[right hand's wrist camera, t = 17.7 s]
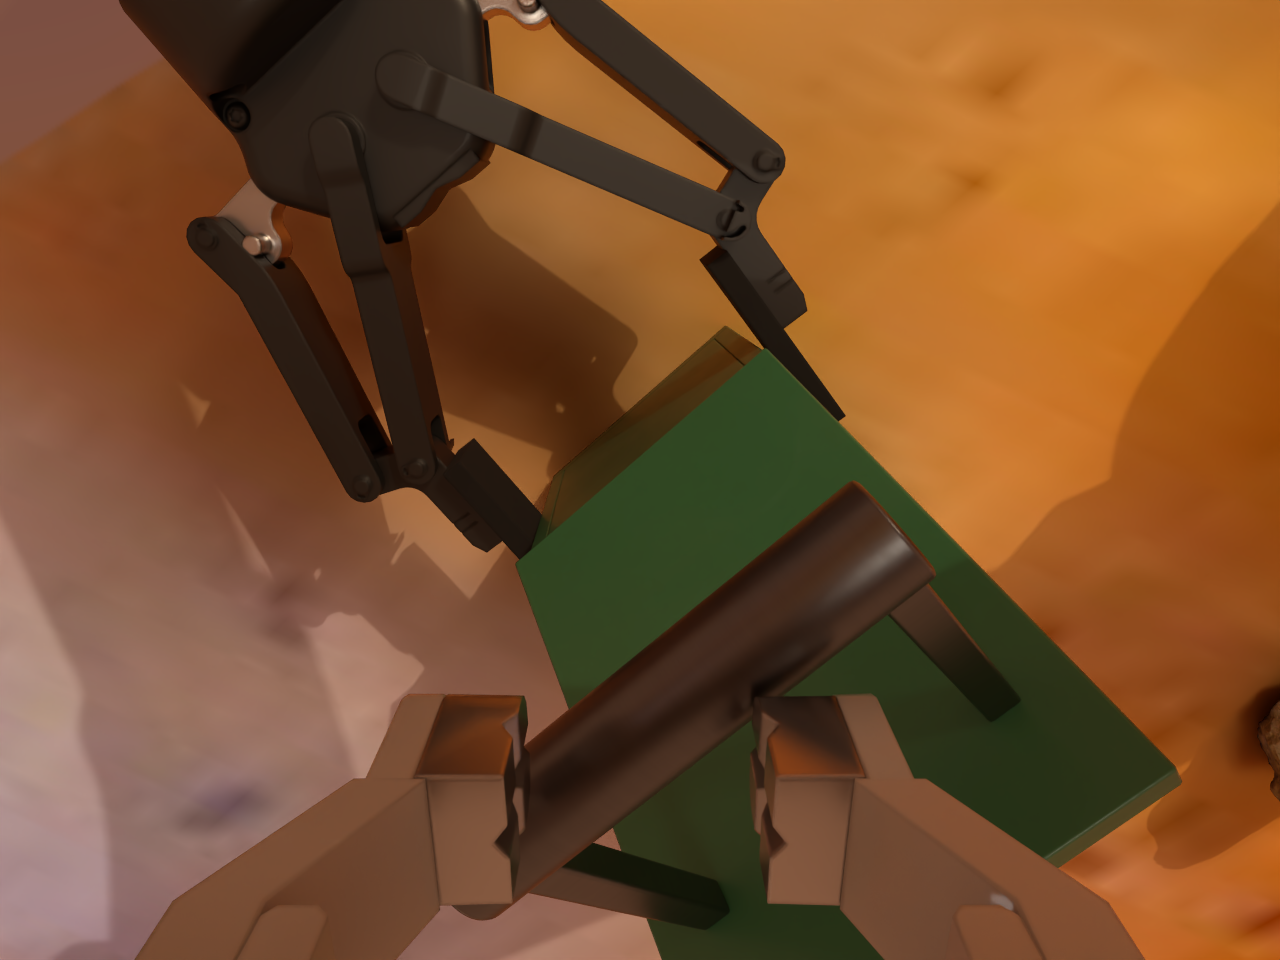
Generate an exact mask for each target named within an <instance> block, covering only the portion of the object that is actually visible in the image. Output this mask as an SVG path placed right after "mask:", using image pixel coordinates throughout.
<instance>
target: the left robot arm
mask: <svg viewBox="0 0 1280 960" xmlns="http://www.w3.org/2000/svg"><path fill="white" fill-rule="evenodd" d="M119 2H120V4H121V6H122V8H123V10H124V12H125V13H126V14H127V15H128V16H129V17H130V18H131V20H132V21H133V22H134V23H135V24H136V25H137V26H138V28H139V29H140V30H141V31H142V32H143V33H144V35H145V36H146V37H147V38H148V39H149V40H150V41H151V43H152V44H153V45H154V46H155V47H156V48H157V49H158V51H159V52H160V53H161V54H162V55H163V56H164V57H165V59H166V60H167V61H168V62H169V63H170V64H171V66H172V67H173V68H174V69H175V70H176V71H177V72H178V74H179V75H180V76H181V77H182V78H183V79H184V80H185V82H186V83H187V84H188V85H189V86H190V87H191V88H192V90H193V91H194V92H195V93H196V94H197V95H198V96H199V98H200V99H201V100H202V101H203V102H204V103H205V105H206V106H207V107H208V108H209V109H210V110H211V111H212V112H213V114H214V115H215V116H216V117H217V118H218V119H219V120H220V121H221V122H222V123H223V124H224V125H225V126H226V127H227V128H228V130H229V131H230V132H231V133H232V135H233V136H234V137H235V139H236V141H237V142H238V144H239V146H240V148H241V151H242V153H243V156H244V159H245V162H246V166H247V169H248V173H249V175H250V177H251V178H250V179H249V181H248V182H247V183H246V184H245V185H244V186H243V187H242V188H241V189H240V190H239V191H238V192H237V194H236V195H235V196H234V197H233V198H232V199H231V200H230V201H229V202H228V203H227V204H226V205H225V207H224V208H223V209H222V210H221V211H220V212H219V213H218V214H217V215H216V216H213V217H201V218H196V219H195V220H193V221H192V222H191V223H190V225H189V226H188V228H187V236H186V237H187V240H188V244H189V246H190V247H191V248H192V250H193V251H194V252H195V253H196V254H197V255H198V256H199V257H200V258H201V259H202V260H203V261H204V262H205V263H206V264H207V265H208V266H209V267H210V268H211V269H212V270H213V271H214V272H215V273H216V274H217V275H218V276H219V277H220V278H222V279H223V280H224V281H225V282H226V283H227V284H228V285H229V286H230V287H231V288H232V289H233V290H234V291H235V292H236V293H237V294H238V295H239V297H240V299H241V301H242V302H243V304H244V306H245V308H246V310H247V311H248V313H249V315H250V317H251V319H252V321H253V322H254V324H255V326H256V328H257V330H258V332H259V333H260V335H261V337H262V339H263V341H264V343H265V344H266V346H267V348H268V350H269V352H270V353H271V355H272V357H273V359H274V361H275V363H276V364H277V366H278V368H279V370H280V372H281V374H282V375H283V377H284V379H285V381H286V383H287V384H288V386H289V388H290V390H291V392H292V394H293V395H294V397H295V399H296V401H297V403H298V405H299V406H300V408H301V410H302V412H303V414H304V415H305V417H306V419H307V421H308V423H309V425H310V426H311V428H312V430H313V432H314V434H315V436H316V437H317V439H318V441H319V443H320V445H321V446H322V448H323V450H324V452H325V454H326V456H327V457H328V459H329V461H330V463H331V465H332V467H333V468H334V470H335V472H336V474H337V476H338V477H339V479H340V481H341V483H342V485H343V487H344V488H345V490H346V492H347V493H348V494H349V496H350V497H351V498H353V499H354V500H356V501H359V502H364V503H365V502H370V501H373V500H374V499H376V498H377V497H378V496H379V495H381V494H384V493H387V492H390V491H393V490H397V489H400V488H405V487H409V488H415V489H418V490H420V491H422V492H423V493H424V494H425V495H427V496H428V497H429V499H430V500H431V501H432V502H433V503H434V504H435V505H436V506H437V507H438V508H439V509H440V510H441V511H442V513H443V514H444V515H445V516H446V517H447V518H448V519H449V520H450V521H451V522H452V523H453V524H454V525H455V527H456V528H457V529H458V530H459V531H460V532H462V534H463V535H464V536H465V537H466V538H467V539H468V541H469V542H470V543H471V544H472V545H473V546H475V547H477V548H479V549H481V550H483V551H485V552H488V551H490V550H491V549H492V548H494V547H495V546H496V545H498V544H499V543H500V542H502V541H503V542H504V543H505V544H506V545H507V546H508V547H509V549H510V550H511V551H512V552H513V553H514V554H515V555H516V556H517V557H518V558H519V560H520V559H521V558H522V557H523V556H524V555H526V554H527V553H528V552H529V551H530V550H531V549H532V545H533V542H534V539H535V536H536V532H537V529H538V526H539V522H540V519H541V516H542V514H541V513H540V512H539V511H538V510H537V509H536V508H535V506H534V505H533V504H532V503H531V502H530V501H529V500H528V499H527V497H526V496H525V495H524V494H523V493H522V492H521V491H520V490H519V488H518V487H517V486H516V485H515V484H514V483H513V482H512V480H511V479H510V478H509V477H508V476H507V475H506V474H505V473H504V471H503V470H502V469H501V468H500V467H499V466H498V465H497V464H496V462H495V461H494V460H493V459H492V458H491V457H490V456H489V454H488V453H487V452H486V451H485V450H484V449H483V448H482V447H481V445H480V444H479V443H478V442H477V441H476V440H475V439H472V440H471V441H470V442H468V443H467V444H466V445H465V446H463V447H462V448H461V449H460V450H458V452H457V453H456V455H455V454H454V453H453V452H452V451H451V450H452V448H453V446H454V439H451V440H450V441H449V439H448V435H447V430H446V426H445V421H444V417H443V412H442V408H441V403H440V399H439V394H438V390H437V385H436V381H435V376H434V372H433V367H432V363H431V358H430V354H429V349H428V345H427V340H426V336H425V331H424V327H423V322H422V318H421V313H420V309H419V304H418V300H417V295H416V291H415V286H414V282H413V277H412V273H411V251H410V246H409V241H408V237H407V232H406V229H407V228H410V227H415V226H419V225H420V224H421V223H422V222H423V221H425V220H426V219H427V218H428V217H429V216H430V215H432V214H433V213H434V212H435V211H436V210H437V208H438V207H439V205H440V203H441V202H442V200H443V199H444V197H445V196H446V194H447V193H448V191H449V190H450V189H451V188H453V187H456V186H458V185H460V184H462V183H464V182H466V181H469V180H471V179H473V178H474V177H475V176H476V175H477V174H479V173H480V172H481V171H482V170H483V169H484V168H485V167H487V166H488V165H489V164H490V161H489V158H490V157H491V155H492V153H493V150H494V147H495V144H497V145H500V146H502V147H504V148H507V149H509V150H511V151H514V152H516V153H518V154H521V155H523V156H526V157H528V158H530V159H533V160H535V161H537V162H540V163H542V164H544V165H547V166H549V167H551V168H554V169H556V170H559V171H561V172H563V173H566V174H568V175H570V176H573V177H575V178H577V179H580V180H582V181H584V182H587V183H589V184H591V185H594V186H596V187H599V188H601V189H603V190H606V191H608V192H610V193H613V194H615V195H617V196H620V197H622V198H624V199H627V200H629V201H631V202H634V203H636V204H639V205H641V206H643V207H646V208H648V209H650V210H653V211H655V212H657V213H660V214H662V215H664V216H667V217H669V218H671V219H674V220H676V221H679V222H681V223H683V224H686V225H688V226H690V227H693V228H695V229H697V230H700V231H702V232H704V233H707V234H709V235H710V236H711V237H712V239H713V240H714V242H715V243H716V244H717V246H716V247H715V248H714V249H712V250H711V251H710V252H709V253H707V254H706V255H705V256H704V257H702V258H701V259H700V261H701V263H702V264H703V265H704V267H705V268H706V270H707V271H708V272H709V274H710V275H711V276H712V278H713V279H714V280H715V282H716V283H717V285H718V286H719V287H720V289H721V290H722V291H723V293H724V294H725V296H726V297H727V298H728V300H729V301H730V302H731V304H732V305H733V306H734V308H735V309H736V311H737V312H738V313H739V315H740V316H741V317H742V319H743V320H744V321H745V323H746V324H747V326H748V327H749V328H750V330H751V331H752V332H753V334H754V335H755V337H756V338H757V339H758V341H759V342H760V343H761V345H762V346H763V347H764V349H765V348H766V349H768V350H769V351H770V352H771V353H772V354H773V355H774V356H775V357H776V358H777V360H778V361H779V362H780V363H781V364H782V365H783V366H784V367H785V368H786V369H787V370H788V371H789V372H790V373H791V374H792V375H793V376H794V377H795V378H796V379H797V380H798V381H799V382H800V383H801V384H802V385H803V386H804V387H805V388H806V389H807V390H808V391H809V392H810V393H811V394H812V395H813V396H814V397H815V398H816V399H817V400H818V401H819V402H820V403H821V405H822V406H823V407H824V408H825V409H826V410H827V411H828V412H829V413H830V414H831V415H832V416H833V417H834V418H835V419H836V420H837V421H840V420H841V419H842V418H844V417H845V416H846V415H845V414H844V413H843V411H842V410H841V409H840V407H839V406H838V404H837V403H836V402H835V400H834V399H833V397H832V396H831V395H830V393H829V392H828V390H827V389H826V388H825V386H824V385H823V383H822V382H821V381H820V379H819V378H818V376H817V375H816V374H815V372H814V371H813V369H812V368H811V367H810V365H809V364H808V362H807V361H806V360H805V358H804V357H803V356H802V354H801V353H800V351H799V350H798V349H797V347H796V346H795V344H794V343H793V342H792V340H791V339H790V337H789V336H788V335H787V333H786V332H785V330H784V328H785V327H787V326H788V325H789V324H791V323H792V322H793V321H795V320H796V319H797V318H798V317H800V316H801V315H802V314H804V313H805V312H806V311H807V307H806V302H805V298H804V294H803V292H802V291H801V290H800V288H799V287H798V285H797V284H796V282H795V281H794V280H793V278H792V277H791V275H790V274H789V272H788V271H787V270H786V268H785V267H784V265H783V264H782V262H781V261H780V260H779V258H778V257H777V255H776V254H775V252H774V251H773V249H772V248H771V247H770V245H769V244H768V242H767V241H766V239H765V238H764V237H763V235H762V234H761V232H760V230H759V228H758V225H757V210H758V207H759V205H760V203H761V201H762V199H763V198H764V196H765V195H766V193H767V191H768V190H769V188H770V187H771V185H772V184H773V182H774V181H775V180H776V179H777V178H778V177H779V176H780V175H781V173H782V171H783V169H784V167H785V155H784V152H783V149H782V148H781V147H780V146H779V144H778V143H776V142H775V141H774V140H773V139H771V138H770V137H769V136H768V135H767V134H765V133H764V132H763V131H762V130H760V129H759V128H758V127H757V126H755V125H754V124H753V123H752V122H751V121H749V120H748V119H747V118H746V117H744V116H743V115H742V114H741V113H739V112H738V111H737V110H736V109H735V108H733V107H732V106H731V105H730V104H728V103H727V102H726V101H725V100H723V99H722V98H721V97H720V96H718V95H717V94H716V93H715V92H714V91H712V90H711V89H710V88H709V87H707V86H706V85H705V84H704V83H702V82H701V81H700V80H699V79H698V78H696V77H695V76H694V75H693V74H691V73H690V72H689V71H688V70H686V69H685V68H684V67H683V66H682V65H680V64H679V63H678V62H677V61H675V60H674V59H673V58H672V57H670V56H669V55H668V54H667V53H666V52H664V51H663V50H662V49H661V48H659V47H658V46H657V45H656V44H654V43H653V42H652V41H651V40H650V39H648V38H647V37H646V36H645V35H643V34H642V33H641V32H640V31H638V30H637V29H636V28H635V27H634V26H632V25H631V24H630V23H629V22H627V21H626V20H625V19H624V18H622V17H621V16H620V15H619V14H617V13H616V12H615V11H614V10H613V9H611V8H610V7H609V6H608V5H606V4H605V3H604V2H603V1H601V0H119ZM498 15H505V16H509V17H511V18H513V19H514V20H515V21H516V22H517V23H519V24H520V25H521V26H522V27H523V28H525V29H527V30H531V31H536V30H541V29H542V28H544V27H546V26H547V25H548V24H549V23H551V24H552V26H553V27H554V29H555V30H556V31H557V32H558V33H559V34H560V35H561V36H562V37H563V39H564V40H565V41H566V42H567V43H569V44H570V45H571V46H572V47H573V48H574V49H575V50H576V51H578V52H579V53H580V54H581V55H583V56H584V57H585V58H586V59H588V60H589V61H590V62H591V63H593V64H594V65H595V66H597V67H598V68H599V69H600V70H602V71H603V72H604V73H605V74H607V75H608V76H609V77H610V78H612V79H613V80H614V81H616V82H617V83H618V84H619V85H621V86H622V87H623V88H624V89H626V90H627V91H628V92H629V93H631V94H632V95H633V96H635V97H636V98H637V99H638V100H640V101H641V102H642V103H643V104H645V105H646V106H647V107H648V108H650V109H651V110H652V111H653V112H655V113H656V114H657V115H659V116H660V117H661V118H662V119H664V120H665V121H666V122H667V123H669V124H670V125H671V126H672V127H674V128H675V129H676V130H678V131H679V132H680V133H681V134H683V135H684V136H685V137H686V138H688V139H689V140H690V141H691V142H693V143H694V144H695V145H696V146H698V147H699V148H700V149H702V150H703V151H704V152H705V153H707V154H708V155H709V156H710V157H712V158H713V159H714V160H715V161H717V162H718V163H719V164H721V165H722V166H723V167H724V168H726V169H727V170H728V172H727V174H726V176H725V177H724V179H723V180H722V182H721V184H720V185H719V187H718V189H717V190H716V191H715V190H712V189H710V188H708V187H705V186H703V185H701V184H699V183H696V182H694V181H692V180H689V179H687V178H685V177H682V176H680V175H678V174H675V173H673V172H671V171H669V170H666V169H664V168H662V167H659V166H657V165H655V164H652V163H650V162H648V161H645V160H643V159H641V158H639V157H636V156H634V155H632V154H629V153H627V152H625V151H622V150H620V149H618V148H615V147H613V146H611V145H609V144H606V143H604V142H602V141H599V140H597V139H595V138H592V137H590V136H588V135H586V134H583V133H581V132H579V131H576V130H574V129H572V128H569V127H567V126H565V125H562V124H560V123H558V122H556V121H553V120H551V119H549V118H546V117H544V116H542V115H540V114H538V113H536V112H534V111H532V110H529V109H527V108H525V107H523V106H521V105H518V104H516V103H514V102H512V101H509V100H507V99H505V98H502V97H500V96H498V95H495V94H494V85H493V73H492V61H491V49H490V37H489V26H488V20H489V19H491V18H492V17H494V16H498ZM286 205H287V206H290V207H293V208H297V209H300V210H304V211H307V212H311V213H314V214H317V215H321V216H324V217H328V218H331V222H332V226H333V230H334V234H335V238H336V242H337V246H338V250H339V254H340V258H341V262H342V265H343V268H344V270H345V272H346V274H347V275H348V276H349V277H350V279H351V281H352V284H353V287H354V291H355V295H356V299H357V303H358V307H359V312H360V316H361V320H362V324H363V328H364V332H365V336H366V340H367V344H368V348H369V352H370V356H371V360H372V364H373V368H374V372H375V376H376V380H377V384H378V388H379V393H380V397H381V401H382V405H383V409H384V413H385V417H386V421H387V425H388V429H389V433H390V437H391V441H392V444H391V442H390V440H389V438H388V436H387V434H386V432H385V430H384V429H383V427H382V425H381V423H380V421H379V419H378V417H377V415H376V413H375V411H374V409H373V407H372V405H371V403H370V401H369V400H368V398H367V396H366V394H365V392H364V390H363V388H362V386H361V384H360V382H359V380H358V378H357V376H356V374H355V372H354V371H353V369H352V367H351V365H350V363H349V361H348V359H347V357H346V355H345V353H344V351H343V349H342V347H341V345H340V343H339V342H338V340H337V338H336V336H335V334H334V332H333V330H332V328H331V326H330V324H329V322H328V320H327V318H326V316H325V315H324V313H323V311H322V309H321V307H320V305H319V303H318V301H317V299H316V297H315V295H314V293H313V291H312V289H311V287H310V286H309V284H308V282H307V281H306V279H305V277H304V275H303V274H302V272H301V271H300V270H299V268H298V267H297V266H296V264H295V263H294V261H293V260H292V259H291V258H290V257H289V256H290V254H291V252H292V249H293V242H292V239H291V236H290V234H289V233H288V231H287V229H286V228H285V226H284V222H283V212H284V208H285V207H286Z"/></svg>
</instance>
